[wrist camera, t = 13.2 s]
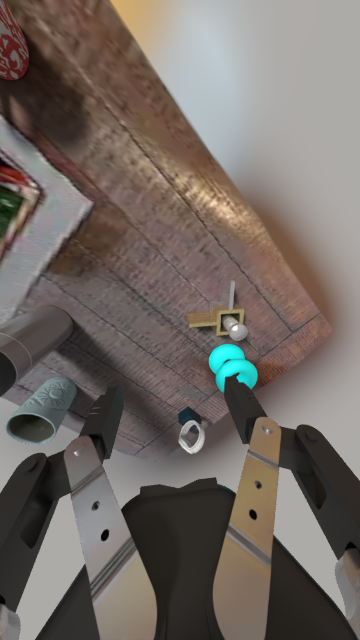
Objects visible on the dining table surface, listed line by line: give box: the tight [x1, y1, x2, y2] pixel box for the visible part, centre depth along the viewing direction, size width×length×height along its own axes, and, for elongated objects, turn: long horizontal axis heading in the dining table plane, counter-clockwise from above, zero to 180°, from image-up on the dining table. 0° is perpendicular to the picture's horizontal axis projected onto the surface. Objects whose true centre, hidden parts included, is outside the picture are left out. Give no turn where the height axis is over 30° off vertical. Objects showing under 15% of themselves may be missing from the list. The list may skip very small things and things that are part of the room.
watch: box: [178, 407, 205, 454], centre depth 51 cm, size 6×8×11 cm
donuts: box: [209, 344, 258, 393], centre depth 44 cm, size 10×10×10 cm
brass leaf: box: [186, 304, 244, 336], centre depth 40 cm, size 12×6×7 cm, turn 92°
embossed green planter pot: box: [5, 377, 77, 444], centre depth 43 cm, size 10×10×12 cm
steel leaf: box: [209, 276, 237, 328], centre depth 39 cm, size 6×12×7 cm, turn 2°
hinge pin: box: [221, 314, 248, 341], centre depth 38 cm, size 3×3×12 cm
